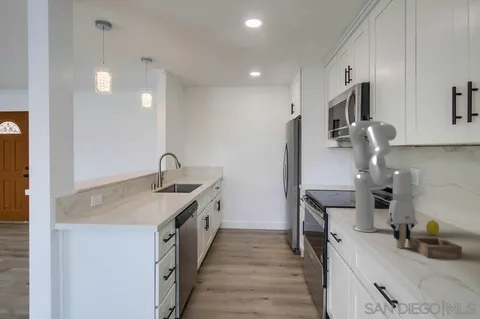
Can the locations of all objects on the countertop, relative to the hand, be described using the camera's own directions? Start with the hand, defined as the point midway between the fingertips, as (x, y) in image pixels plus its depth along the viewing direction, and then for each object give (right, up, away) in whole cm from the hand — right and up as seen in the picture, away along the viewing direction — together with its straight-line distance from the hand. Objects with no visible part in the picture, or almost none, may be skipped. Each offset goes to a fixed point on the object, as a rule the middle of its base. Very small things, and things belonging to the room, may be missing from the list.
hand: (401, 238), depth 133 cm
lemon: (+26, -4, +19) cm, 33 cm away
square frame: (+11, -5, -5) cm, 13 cm away
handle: (0, -4, +1) cm, 5 cm away
